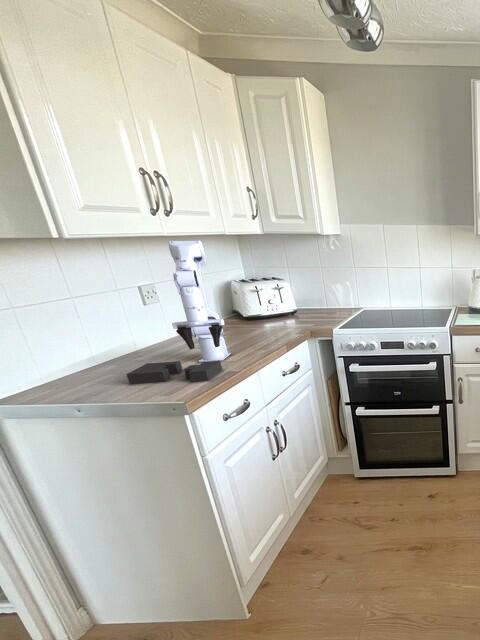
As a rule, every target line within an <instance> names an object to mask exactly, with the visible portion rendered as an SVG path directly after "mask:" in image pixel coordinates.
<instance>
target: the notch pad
mask: <svg viewBox="0 0 480 640" xmlns="http://www.w3.org/2000/svg"><path fill="white" fill-rule="evenodd" d="M181 372H184V369H183V367H182V363H181V361H180V360H177V361H163V362H161V361H160V362H148V363H145V364H143V365H142V366H139V367H137V368H135V369H133V370H132V371H130V372H128V373H126V378H127V380H128V383H129V385H137V384H139V385H140V384H151V383H163V382H165V383H166V382H167V381H169V380H170V379H171V378H172V377H171V375H175V374H180V373H181Z"/></svg>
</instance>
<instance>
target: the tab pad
mask: <svg viewBox="0 0 480 640" xmlns="http://www.w3.org/2000/svg"><path fill="white" fill-rule="evenodd" d="M222 371H223V367H222V363H221V361H206V362H200V364H192V365H191V364H189V366H186V367H185V368H184V369H183V372H184V375H185V378H186V380H190V382H191V383H196V382H209V381H210V380H211V379H213V378H214V377H215V376H217V374H219V373H221V372H222Z"/></svg>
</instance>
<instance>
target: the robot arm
mask: <svg viewBox="0 0 480 640" xmlns="http://www.w3.org/2000/svg"><path fill="white" fill-rule="evenodd" d="M167 244H168V245H167V246H168V249H169V254H170V256H171V257H172V260H173V261H174V263H175V273H174V272H173V273H172V278H173V282H174V285H175V287H176V289H177V293H178V295H180V300H181V303H182V307H183V310H184V314H185V318H186V321H176V322H175V321H174V322H171V325H172V328H173V330H175V332H176V334H178V335H179V336H180V337H181V338H182V339H183V341H184V342H185V343H186V345H187V347H188V349H189V350H193V349H195V348H196V347H195V342H194V339H193V338H196V340H197V342H198V346H199V350H200V353H201V357H202V358H200V359H199V360H198V363H203V362H206V361H220V362H222V361H224V360H225V359H226V358H228V357H229V356H230V355H231V354H232V353H231V352H228V348H227V344H226V341H225V338H224V337H223V336H222V335H223V334H224V329H223V328H224V325H226V324H225V321H224V318H220V315H219V314H218V313H217V312H214V311H212V310H210V308H209V301H208V299H207V293H206V291H205V290H206V289H205V286H204V285H205V284H204V280H203V276H202V270H203V269H202V268H204V267H205V266H207V258H206V253H205V249H204V245H203V242H202V241H201V240H199V239H198V240H169V242H168V243H167Z"/></svg>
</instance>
